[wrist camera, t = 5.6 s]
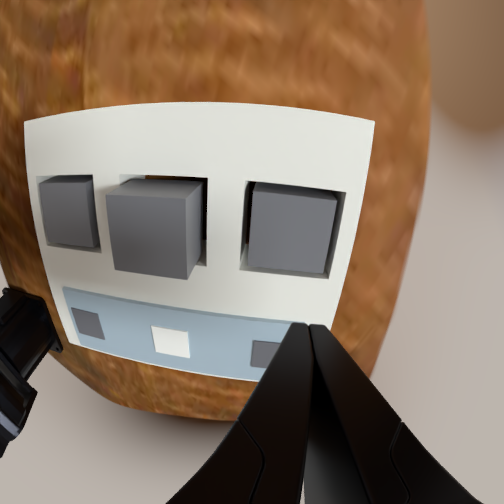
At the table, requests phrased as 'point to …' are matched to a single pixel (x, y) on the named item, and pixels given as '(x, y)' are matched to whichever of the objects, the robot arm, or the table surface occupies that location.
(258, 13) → the table surface
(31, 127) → the button board
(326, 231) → the button right
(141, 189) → the button middle
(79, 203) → the button left
